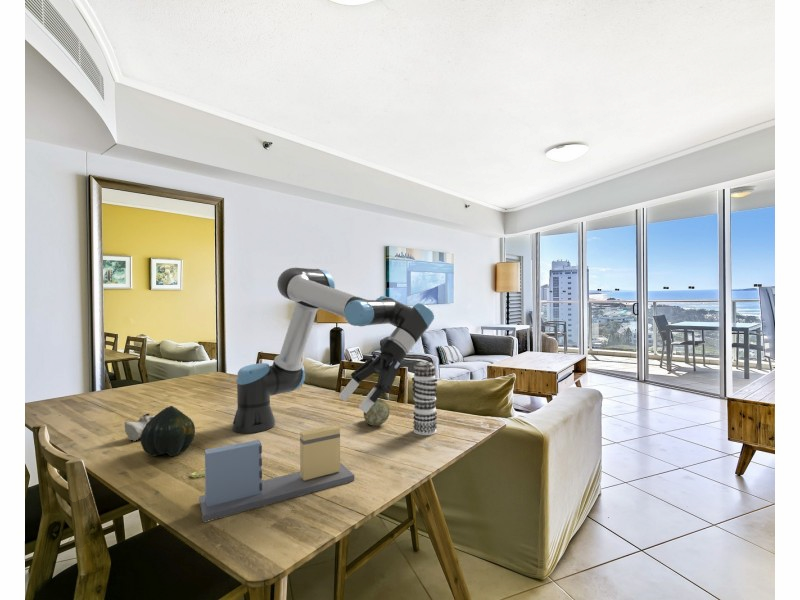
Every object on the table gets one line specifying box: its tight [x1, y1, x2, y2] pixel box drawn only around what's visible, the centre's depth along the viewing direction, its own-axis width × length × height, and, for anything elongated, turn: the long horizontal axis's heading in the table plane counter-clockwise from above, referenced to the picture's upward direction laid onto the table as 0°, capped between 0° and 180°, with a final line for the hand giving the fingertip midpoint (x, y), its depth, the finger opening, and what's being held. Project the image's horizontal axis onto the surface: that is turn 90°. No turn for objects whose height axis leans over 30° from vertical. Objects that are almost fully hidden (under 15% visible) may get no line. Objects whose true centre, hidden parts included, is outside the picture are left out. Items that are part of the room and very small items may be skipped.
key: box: [190, 467, 205, 477], centre depth 108 cm, size 7×12×2 cm, turn 78°
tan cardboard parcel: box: [299, 424, 341, 481], centre depth 103 cm, size 10×3×12 cm, turn 122°
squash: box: [140, 405, 196, 457], centre depth 124 cm, size 14×15×15 cm
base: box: [198, 462, 355, 523], centre depth 98 cm, size 36×10×2 cm, turn 122°
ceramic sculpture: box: [124, 413, 155, 442], centre depth 139 cm, size 11×9×15 cm
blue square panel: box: [204, 439, 263, 507], centre depth 92 cm, size 12×3×12 cm, turn 122°
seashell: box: [363, 398, 391, 427], centre depth 151 cm, size 11×11×10 cm
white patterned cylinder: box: [411, 361, 438, 436], centre depth 141 cm, size 9×9×25 cm
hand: (351, 404), depth 108 cm, fingers open, 13 cm apart
